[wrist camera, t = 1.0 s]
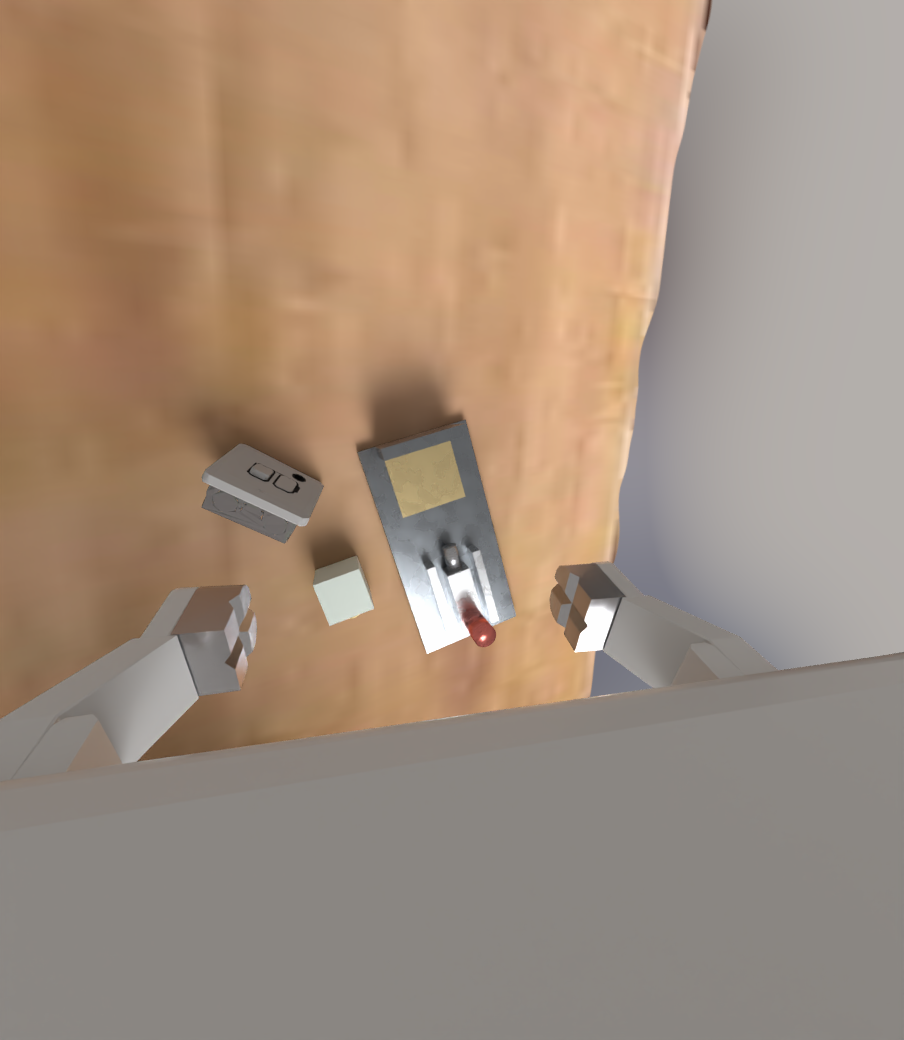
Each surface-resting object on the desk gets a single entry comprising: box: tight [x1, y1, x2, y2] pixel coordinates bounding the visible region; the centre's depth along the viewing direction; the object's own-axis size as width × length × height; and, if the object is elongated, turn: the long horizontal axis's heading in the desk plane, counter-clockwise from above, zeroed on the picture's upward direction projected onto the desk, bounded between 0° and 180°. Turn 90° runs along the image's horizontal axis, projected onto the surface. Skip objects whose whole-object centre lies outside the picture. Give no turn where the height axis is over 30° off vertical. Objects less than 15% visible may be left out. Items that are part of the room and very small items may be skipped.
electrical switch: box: [202, 444, 324, 544], centre depth 38 cm, size 9×5×9 cm, turn 60°
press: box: [357, 420, 516, 654], centre depth 46 cm, size 27×13×7 cm, turn 16°
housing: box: [313, 555, 374, 626], centre depth 45 cm, size 6×5×5 cm
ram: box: [442, 543, 496, 647], centre depth 46 cm, size 11×3×7 cm, turn 16°
